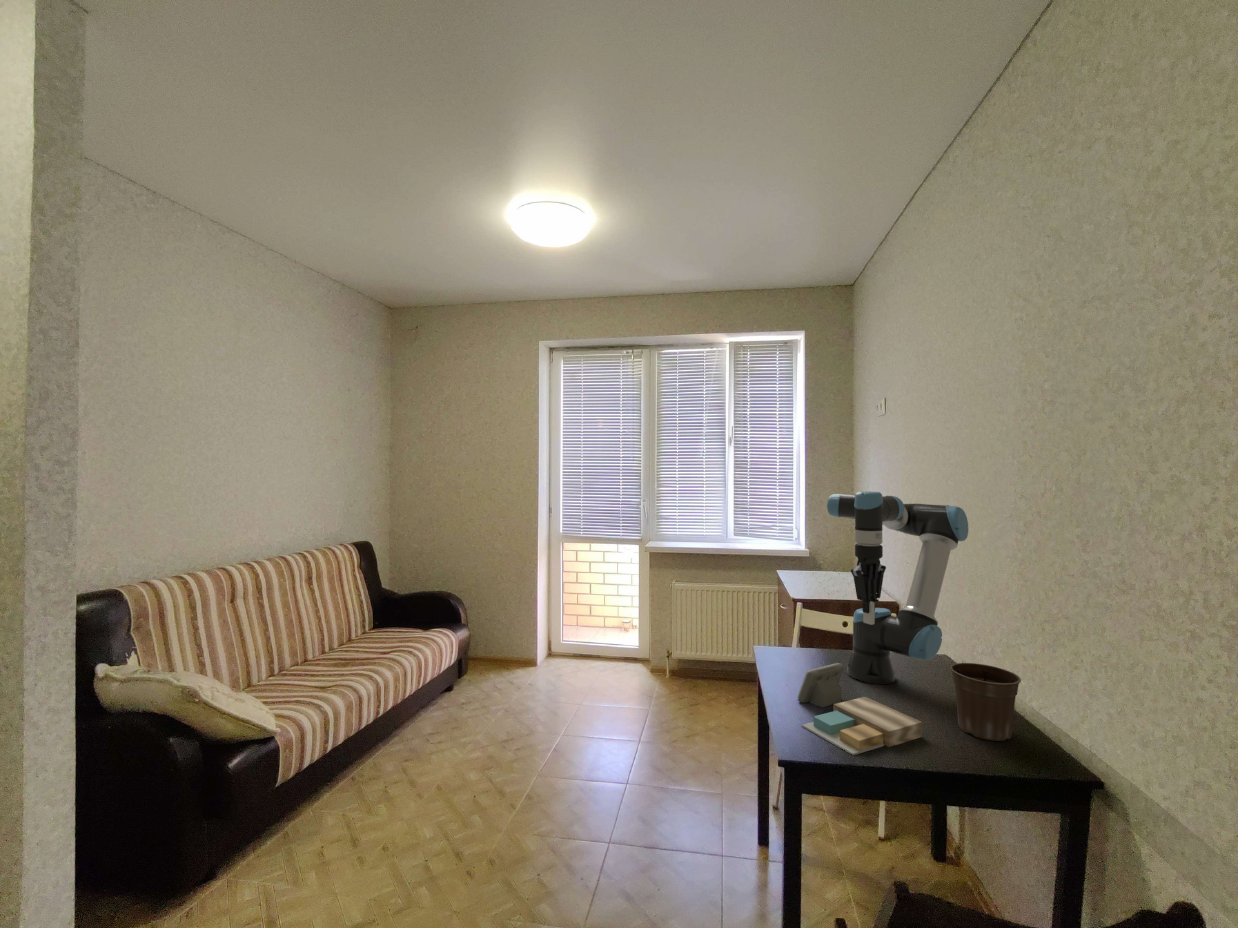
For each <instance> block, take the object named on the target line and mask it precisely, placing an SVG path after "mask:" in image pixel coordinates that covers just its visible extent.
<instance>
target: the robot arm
mask: <svg viewBox="0 0 1238 928" xmlns="http://www.w3.org/2000/svg"><path fill="white" fill-rule="evenodd" d="M826 509H827V512H828V514H829V515H830V516H832V517H837V518H845V519H852V520H854V542H855V544H854V556H855V557H856V558H857V562H856V566H855V568H851V570H850V573H851V575H852V576H853V583H854V588H855V589H854V590H855V594H856V599H857V600H859V601H860V602H861V601H862V608H858V609H856V610H855V611H854V613H853V619H852V652H851V655H850V657H849V660H848V663H847V667H846V673H847V676H849V677H850V676H851V677H850V678H852V679H854V678H855V680H856V679H858V680H857V681H859V680H860V682H862V681H865V682H864V683H866V682H867V684H872V683H875V684H874V685H890V684H893V683H894V682H895V681H896V672H895V670H894V666H893V663H892V659H891V654H890V653H893V654H896V655H901V656H905V657H908V658H911V659H914V660H920V661H924V662H925V661H926V662H927V661H930V660H932V659H933V658H934V657H936V655H937V654H938V652H939V650H940V648H941V645H942V642H943V638H942V637H943V632H942V629H941V628H940V626H939V625H938V624H939V622H938V620H937V618H936V617H935V614H936V611H937V606H938V602H939V598H940V595H941V590H942V587H943V582H944V579H945V574H946V570H947V567H948V563H949V559H950V554H951V551H952V550H955V549H956V548H958V543H959V542H964V541H966V540H967V539H968V535H969V522H968V518H967V513H966V512H965V510H964V509H963V508H962V507H960V506H956V505H955V506H954V505H949V504H946V505H944V504H943V505H942V504H928V503H904V502H903V501H902V500H901V498H899V497H898V496H893V495H885V496H883V494H882V493H881V492H880V491H871V490H870V491H868V490H867V491H857V492H855V494H847V493H845V494H843V493H833V494H831V495H830V496H829V497H828V499H827V502H826ZM883 526H885V528H887V529H890V530H893V531H896V532H900V533H902V534H907V535H911V536H915V537H919V540H920V542H921V543H922V544H921V548H920V551H919V555H918V559H917V561H916V562H917V564H916V567H915V570H914V574H913V577H912V582H911V586H910V589H909V593H908V596H907V601H906V603H905V607H903V608H901V609H899V610H898V612H897V613H898V614H897V616H895V615H892V612H891V610H890V609H889V608H884V607H876V603H878V602H879V601H880V600H879V599H880V598H881V596H882V595H881V594H882V590H883V589H882V588H883V581H884V575H885V573H886V569H887V567H886V566H887V565H883V564H881V561H880V559H882V558H883V555H884V554H883V553H884V552H883V551H884V550H883V547H884V546H883V545H882V544H883Z"/></svg>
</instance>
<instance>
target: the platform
mask: <svg viewBox="0 0 1238 928" xmlns="http://www.w3.org/2000/svg"><path fill="white" fill-rule="evenodd" d="M832 705H833V706H832V708H833V711H839V712H841V713H843V714H845V715H847V716H849V717H851V718H853V719H855V722H854V726H858V725H861V724H865V725H867V726H869V727H871V728H873V729H875V730H877V731H879V732H881V733H883V743H884V746H886V747H888V748H891V747H894V745H895V746H897V745H898V746H899V745H900V744H904V743H907V742H910V741H913V740H916V739H920V738H922V737H923V721H921V720H919V719H916V718H914V717H912V716H910V715H907V714H905V713H902V712H900V711H899V710H896V709H894V708H891V707H889V706H888V705H884V704H883V703H881V702H878V701H876V700H873V699H871V698H869V697H868V696H862V697H858V698H854V699H850V700H849V699H848V700H846V701H841V702H838V703H835V704H832ZM833 711H832V712H833Z"/></svg>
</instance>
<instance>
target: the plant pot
mask: <svg viewBox="0 0 1238 928" xmlns="http://www.w3.org/2000/svg"><path fill="white" fill-rule="evenodd" d="M949 669H950V671H951V673H952V681H953V684H954V688H955V689H954V691H955V701H956V709H957V721H958V722H957V725H958V728H959V729H960V730H961V731H963V732H964V733H965V734H971V735H973V736H974V737H976V738H979V739H982V740H986V741H990V742H991V741H992V742H1004V741H1006V740H1010V739H1011V738H1012V734H1013V733H1012V732H1013V731H1012V730H1013V723H1014V712H1015V704H1016V696H1017V695H1018V690H1019V685H1020V683H1021V681H1022V678H1021V677H1020V676H1019V675H1017V674H1016V673H1014V672H1012V671H1010V670H1006V669H1004V668H1002V667H997V666H993V665H989V664H988V665H987V664H983V663H974V662H959V663H958V662H957V663H953V664H951V665H950V668H949Z"/></svg>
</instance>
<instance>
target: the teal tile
mask: <svg viewBox="0 0 1238 928" xmlns="http://www.w3.org/2000/svg"><path fill="white" fill-rule="evenodd" d="M812 722H813V726H815V727H817V728H819V729H820V730H822V731H824V732H826V733H828V734H830V735H833V734H836V733H840V730H843V729H847V728H851V727H854V722H855V719H853V718H851V717H849V716H847V715H845V714H843V713H841V712H839V711H830V712H825V713H822V714H818V715H814V716H813V720H812Z"/></svg>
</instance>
